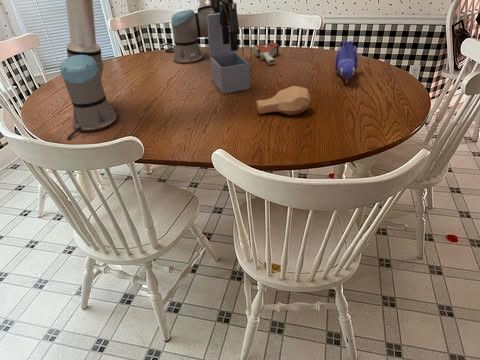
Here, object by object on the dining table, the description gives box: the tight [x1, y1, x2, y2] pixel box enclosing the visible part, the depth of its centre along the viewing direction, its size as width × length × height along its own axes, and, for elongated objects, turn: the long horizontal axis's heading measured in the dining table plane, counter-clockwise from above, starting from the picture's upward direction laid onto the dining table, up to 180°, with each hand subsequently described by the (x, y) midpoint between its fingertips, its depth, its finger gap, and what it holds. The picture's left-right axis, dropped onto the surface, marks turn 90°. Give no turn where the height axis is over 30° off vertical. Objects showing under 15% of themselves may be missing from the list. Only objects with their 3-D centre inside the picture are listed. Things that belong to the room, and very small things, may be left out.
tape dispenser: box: [252, 42, 280, 66], centre depth 182 cm, size 18×5×20 cm
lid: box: [207, 11, 237, 57], centre depth 153 cm, size 17×12×9 cm
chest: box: [209, 52, 251, 95], centre depth 154 cm, size 17×12×11 cm
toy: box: [334, 40, 359, 85], centre depth 152 cm, size 10×17×25 cm
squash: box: [255, 85, 312, 116], centre depth 130 cm, size 11×20×9 cm, turn 92°
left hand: (230, 46), depth 144 cm, fingers open, 10 cm apart
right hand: (217, 24), depth 153 cm, fingers closed on lid, 2 cm apart
